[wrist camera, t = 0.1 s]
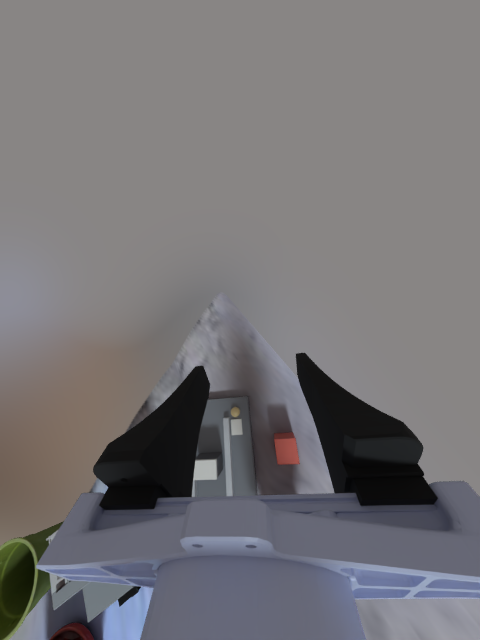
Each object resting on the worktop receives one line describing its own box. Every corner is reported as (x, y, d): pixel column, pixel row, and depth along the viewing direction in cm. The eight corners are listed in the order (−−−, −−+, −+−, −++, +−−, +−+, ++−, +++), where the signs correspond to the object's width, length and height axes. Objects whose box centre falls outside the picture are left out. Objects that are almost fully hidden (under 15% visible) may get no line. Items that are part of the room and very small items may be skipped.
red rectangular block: (296, 454, 37) (299, 463, 32) (277, 455, 38) (277, 464, 33) (292, 432, 39) (295, 438, 34) (274, 433, 39) (274, 439, 34)
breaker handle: (222, 469, 37) (216, 479, 33) (200, 470, 38) (191, 480, 33) (222, 452, 38) (216, 459, 34) (200, 453, 39) (191, 460, 35)
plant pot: (105, 551, 37) (39, 615, 26) (55, 590, 36) (-33, 671, 26) (92, 488, 41) (32, 522, 31) (47, 522, 41) (-30, 567, 30)
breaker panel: (258, 505, 35) (257, 514, 33) (174, 505, 38) (167, 514, 35) (248, 396, 43) (246, 396, 40) (178, 402, 45) (172, 403, 43)
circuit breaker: (144, 566, 35) (60, 681, 21) (123, 486, 41) (45, 536, 27) (176, 541, 35) (114, 637, 22) (151, 465, 41) (89, 504, 27)
